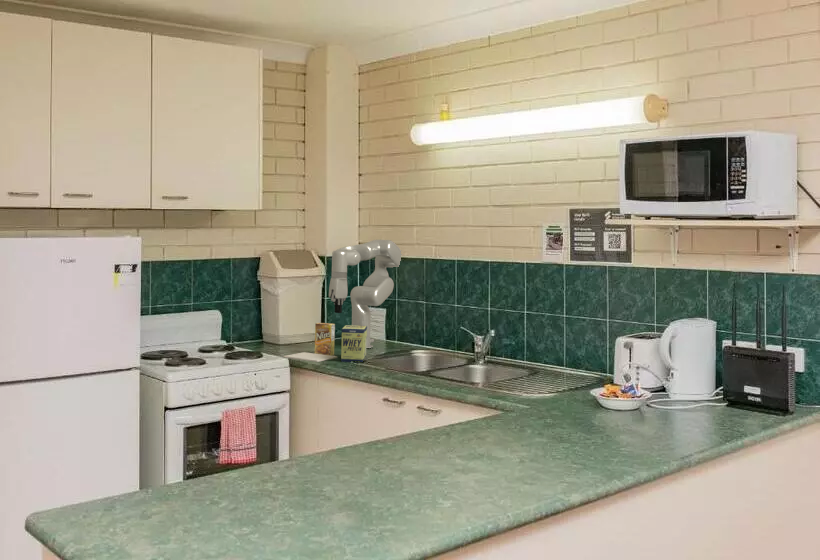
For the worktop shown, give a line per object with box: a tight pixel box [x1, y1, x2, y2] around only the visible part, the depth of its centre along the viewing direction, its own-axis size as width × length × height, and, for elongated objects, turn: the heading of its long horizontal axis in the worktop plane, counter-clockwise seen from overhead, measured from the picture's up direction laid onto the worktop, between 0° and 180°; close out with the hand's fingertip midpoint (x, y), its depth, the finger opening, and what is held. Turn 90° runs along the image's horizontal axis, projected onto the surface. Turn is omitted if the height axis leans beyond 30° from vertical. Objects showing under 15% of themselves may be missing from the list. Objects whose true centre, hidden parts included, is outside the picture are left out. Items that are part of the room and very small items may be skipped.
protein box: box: [340, 324, 367, 363], centre depth 425 cm, size 10×16×16 cm
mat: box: [282, 351, 338, 363], centre depth 428 cm, size 16×20×1 cm
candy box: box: [314, 322, 336, 356], centre depth 437 cm, size 9×4×15 cm, turn 70°
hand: (338, 312), depth 445 cm, fingers closed
